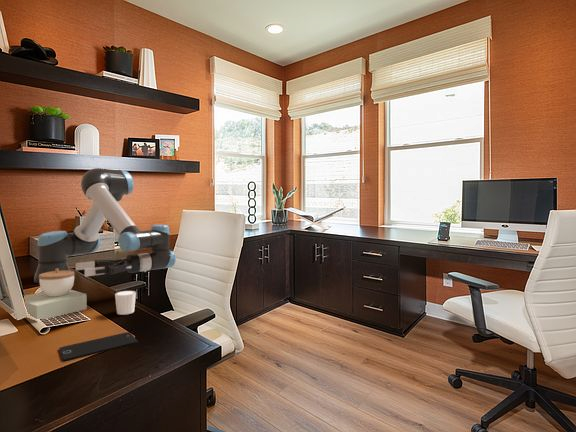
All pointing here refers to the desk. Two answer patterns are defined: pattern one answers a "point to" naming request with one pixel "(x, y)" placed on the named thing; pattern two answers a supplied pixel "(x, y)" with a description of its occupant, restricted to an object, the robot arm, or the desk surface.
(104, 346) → the cell phone
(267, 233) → the desk surface
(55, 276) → the lidded jar
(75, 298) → the sage box
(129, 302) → the white tapered cup
